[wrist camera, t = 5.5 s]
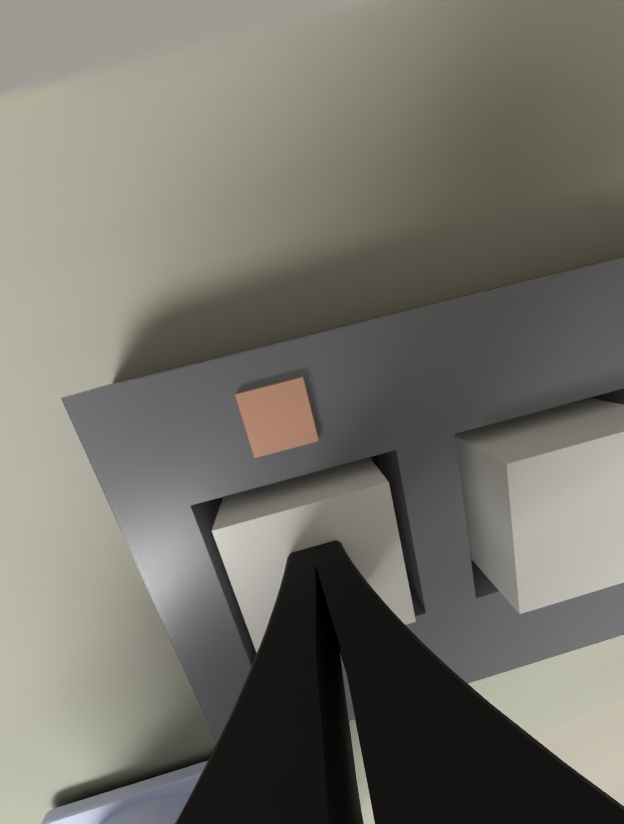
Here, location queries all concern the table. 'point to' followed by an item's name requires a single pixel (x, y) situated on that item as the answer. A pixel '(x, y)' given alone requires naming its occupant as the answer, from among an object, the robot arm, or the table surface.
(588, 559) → the key middle
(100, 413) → the keypad frame
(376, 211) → the table surface
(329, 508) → the key inner
